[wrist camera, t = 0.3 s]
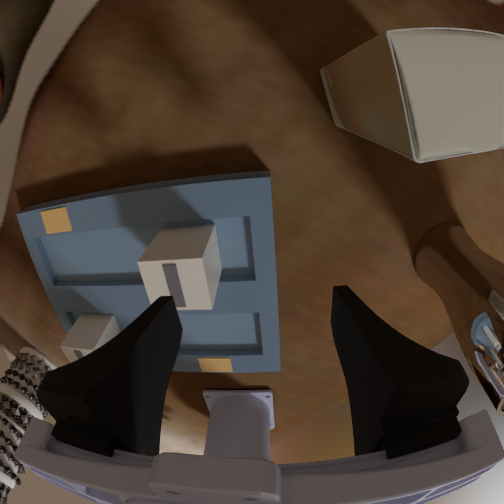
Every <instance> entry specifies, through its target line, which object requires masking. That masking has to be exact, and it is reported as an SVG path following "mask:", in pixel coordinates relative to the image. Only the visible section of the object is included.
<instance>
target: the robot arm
mask: <svg viewBox="0 0 504 504" xmlns="http://www.w3.org/2000/svg"><path fill="white" fill-rule="evenodd" d="M331 326H332V332H333V338H334V342H335V346H336V349H337V353H338V356H339V359H340V363H341V366H342V369H343V373H344V376H345V380H346V384H347V388H348V395H349V401H350V408H351V416H352V425H353V436H354V447H355V448H354V449H355V456H353V457H347V458H340V459H333V460H325V461H317V462H308V463H307V462H306V463H294V464H275V463H274V462H272V461H270V429H274V427H275V425H274V410H273V395H272V391H271V390H204V391H203V397H204V399H205V402H206V404H207V407H208V410H209V412H210V416H209V423H208V430H207V436H206V443H205V450H204V455H192V454H182V453H166V452H163V453H161V454H159V445H160V432H161V423H162V415H163V408H164V402H165V396H166V391H167V387H168V384H169V380H170V377H171V374H172V371H173V368H174V365H175V361H176V358H177V355H178V352H179V348H180V344H181V338H182V331H183V328H182V325H181V322H180V318H179V315H178V312H177V308H176V305H175V302H174V298H173V296H160V297H159V298H158V299H156V300H155V301H154V302H153V303H152V304H151V305H150V306H149V307H148V308H147V309H146V310H145V311H144V312H143V313H141V314H140V315H139V316H138V317H137V318H136V319H135V320H134V321H133V322H132V323H131V324H129V325H128V326H127V327H126V328H125V329H123V330H122V331H121V332H120V333H119V334H118V335H116V336H115V337H114V338H112V339H111V340H110V341H108V342H107V343H105V344H104V345H102V346H101V347H99V348H98V349H96V350H94V351H93V352H91V353H89V354H87V355H86V356H84V357H82V358H80V359H78V360H76V361H74V362H71V363H69V364H67V365H65V366H62V367H59V368H56V369H54V370H51V371H48V372H47V373H46V375H45V376H44V378H43V380H42V381H41V383H40V385H39V387H38V388H37V390H36V396H37V398H38V400H39V402H40V403H41V404H42V406H43V407H44V408H45V409H46V410H47V411H48V412H49V413H50V414H51V416H53V418H54V419H55V420H56V424H55V426H53V425H52V424H50V423H48V422H46V421H43V420H41V419H38V418H35V417H32V418H31V420H30V422H29V424H28V426H27V429H26V431H25V433H24V435H23V437H22V439H21V441H20V443H19V445H18V448H17V450H16V452H15V454H14V457H15V458H16V459H17V460H18V461H19V462H21V463H22V464H23V465H25V466H26V467H27V468H29V469H30V470H31V471H33V472H34V473H36V474H37V475H38V476H40V477H42V478H43V479H44V480H46V481H47V482H49V483H52V484H54V485H56V486H58V487H60V488H62V489H64V490H67V491H69V492H71V493H73V494H76V495H78V496H80V497H82V498H85V499H87V500H90V501H92V502H95V503H97V504H425V503H427V502H430V501H432V500H435V499H437V498H440V497H442V496H444V495H447V494H449V493H451V492H454V491H456V490H458V489H460V488H462V487H465V486H467V485H469V484H471V483H473V482H475V481H476V480H478V479H479V478H480V477H482V476H483V475H484V474H486V473H487V472H488V471H490V470H491V469H492V468H493V467H495V466H496V465H497V464H498V463H500V462H501V461H502V460H503V459H504V450H503V447H502V445H501V442H500V440H499V437H498V435H497V432H496V430H495V428H494V425H493V423H492V421H491V418H490V416H489V414H488V412H487V410H483V411H481V412H478V413H476V414H473V415H471V416H468V417H466V418H464V419H463V420H461V421H460V422H458V420H457V417H456V416H457V415H458V414H459V411H458V409H457V406H456V405H457V404H458V402H459V401H460V399H461V398H462V396H463V395H464V393H465V392H466V390H467V388H468V385H469V379H468V376H467V374H466V372H465V370H464V368H463V367H462V365H461V364H460V362H459V361H458V360H455V359H453V358H450V357H447V356H444V355H441V354H438V353H436V352H434V351H432V350H429V349H427V348H425V347H423V346H421V345H419V344H417V343H416V342H414V341H412V340H410V339H409V338H407V337H405V336H404V335H402V334H401V333H399V332H398V331H397V330H395V329H394V328H392V327H391V326H390V325H388V324H387V323H386V322H385V321H383V320H382V319H381V318H380V317H379V316H377V315H376V314H375V313H374V312H373V311H372V310H371V309H370V308H369V307H368V306H367V305H366V304H365V303H364V302H363V301H362V300H361V299H360V298H359V297H358V296H357V295H356V294H355V293H354V292H353V291H352V290H351V289H350V288H349V287H348V286H347V285H343V286H333V299H332V313H331Z"/></svg>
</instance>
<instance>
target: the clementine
mask: <svg viewBox="0 0 504 504" xmlns="http://www.w3.org/2000/svg"><path fill="white" fill-rule="evenodd" d="M1 97H2V80H1V77H0V101H1Z"/></svg>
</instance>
